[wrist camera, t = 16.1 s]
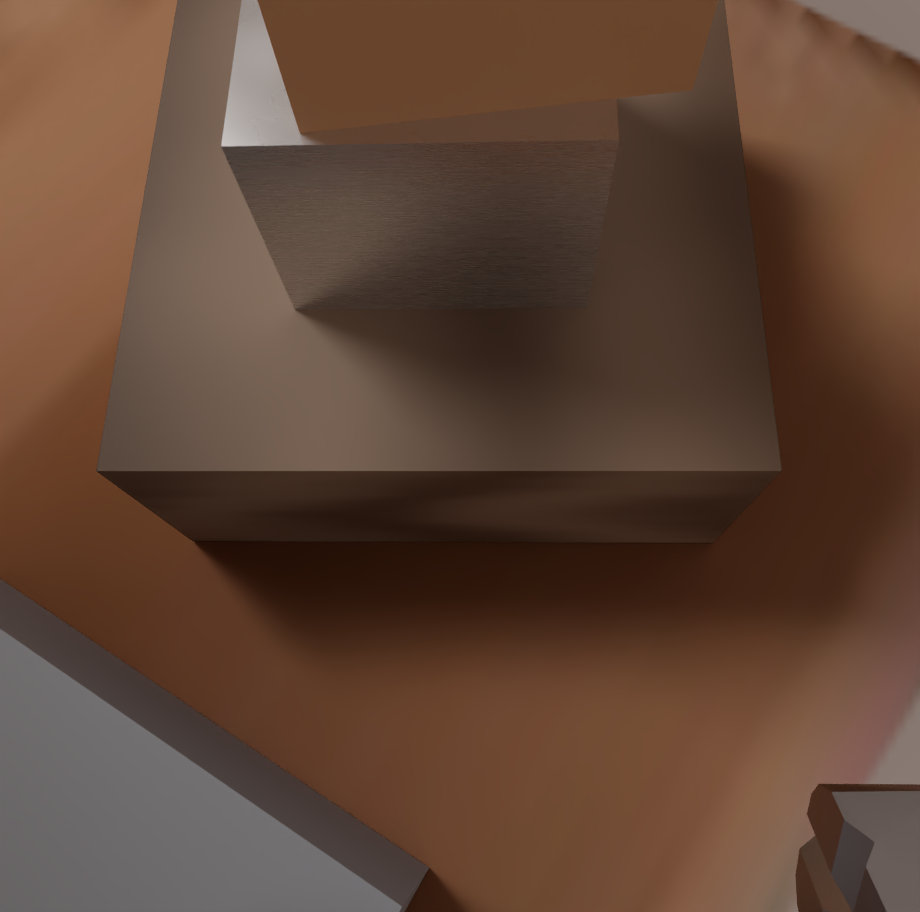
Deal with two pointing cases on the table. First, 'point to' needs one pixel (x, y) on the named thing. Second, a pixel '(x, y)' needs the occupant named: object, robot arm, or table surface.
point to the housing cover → (477, 55)
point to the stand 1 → (158, 798)
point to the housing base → (420, 197)
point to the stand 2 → (446, 355)
